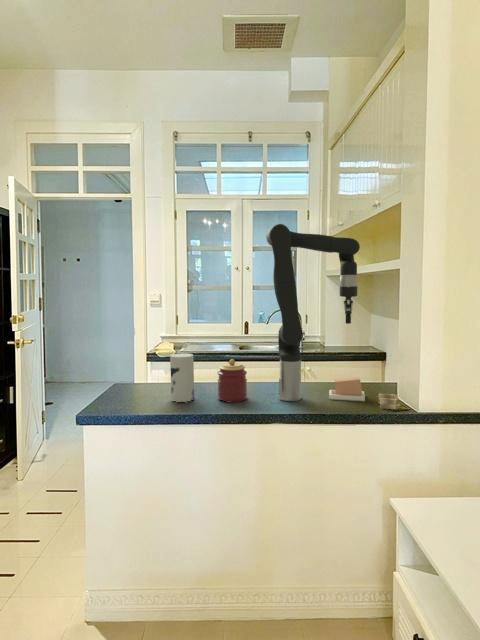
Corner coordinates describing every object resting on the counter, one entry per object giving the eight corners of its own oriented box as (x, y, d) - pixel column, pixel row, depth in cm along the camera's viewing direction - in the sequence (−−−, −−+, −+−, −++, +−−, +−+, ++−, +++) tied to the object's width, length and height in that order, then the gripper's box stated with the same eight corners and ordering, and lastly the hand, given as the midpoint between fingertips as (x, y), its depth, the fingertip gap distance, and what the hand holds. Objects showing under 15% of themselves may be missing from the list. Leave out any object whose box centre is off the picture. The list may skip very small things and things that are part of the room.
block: (336, 397, 188) (334, 381, 188) (336, 394, 193) (334, 379, 192) (362, 395, 185) (359, 379, 185) (362, 392, 190) (359, 377, 189)
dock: (380, 408, 173) (380, 398, 172) (378, 403, 180) (378, 393, 180) (398, 409, 171) (398, 399, 171) (396, 403, 179) (396, 394, 178)
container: (166, 400, 188) (165, 355, 187) (184, 395, 196) (183, 352, 194) (181, 404, 182) (180, 357, 180) (198, 399, 189) (198, 354, 187)
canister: (219, 394, 196) (218, 356, 195) (247, 394, 196) (247, 356, 194) (216, 403, 183) (215, 362, 182) (247, 402, 183) (246, 362, 181)
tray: (328, 399, 187) (329, 394, 186) (329, 394, 195) (329, 389, 195) (364, 401, 183) (364, 396, 183) (363, 395, 192) (363, 391, 192)
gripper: (339, 285, 195) (339, 321, 196) (339, 285, 181) (339, 324, 183) (357, 285, 193) (356, 321, 194) (357, 285, 179) (357, 324, 181)
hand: (348, 322), depth 188 cm, fingers open, 8 cm apart
